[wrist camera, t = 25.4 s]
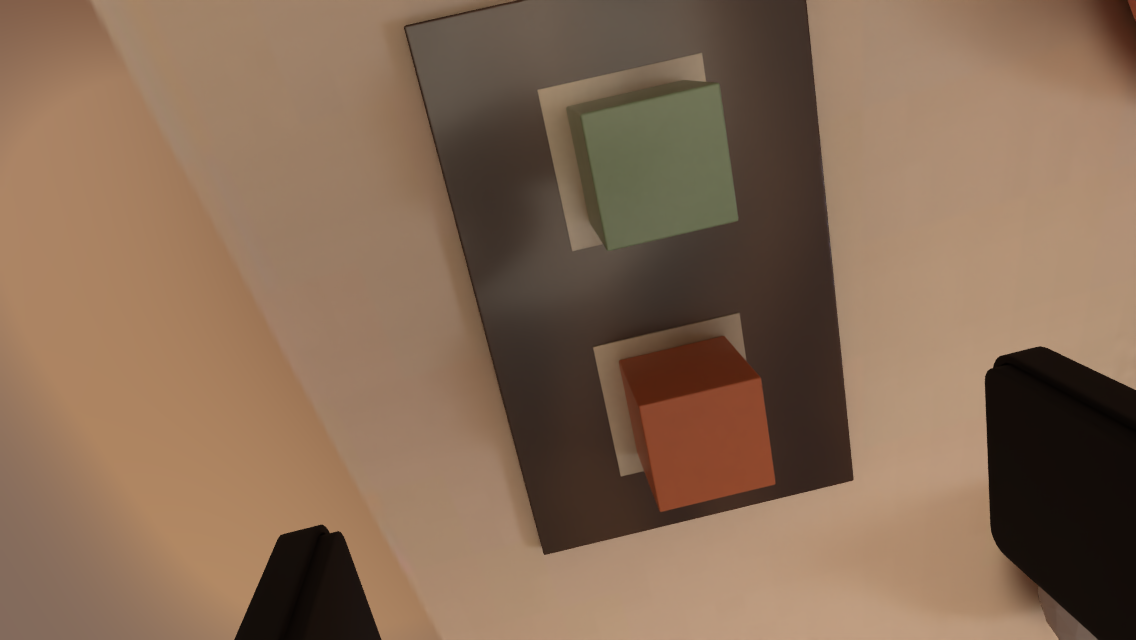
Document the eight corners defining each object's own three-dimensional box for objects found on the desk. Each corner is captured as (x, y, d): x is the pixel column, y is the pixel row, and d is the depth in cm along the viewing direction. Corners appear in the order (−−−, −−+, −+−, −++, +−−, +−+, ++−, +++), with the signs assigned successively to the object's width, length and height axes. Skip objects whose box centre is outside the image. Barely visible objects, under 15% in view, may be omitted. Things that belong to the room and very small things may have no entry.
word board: (543, 547, 34) (544, 557, 33) (404, 26, 27) (402, 25, 26) (848, 474, 34) (855, 482, 34) (794, -61, 27) (801, -64, 26)
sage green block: (590, 225, 29) (606, 252, 25) (565, 106, 27) (579, 113, 23) (703, 198, 29) (739, 221, 25) (685, 79, 27) (720, 81, 23)
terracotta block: (637, 455, 32) (659, 513, 28) (618, 360, 31) (638, 406, 26) (739, 430, 32) (776, 485, 28) (724, 334, 31) (761, 377, 27)
